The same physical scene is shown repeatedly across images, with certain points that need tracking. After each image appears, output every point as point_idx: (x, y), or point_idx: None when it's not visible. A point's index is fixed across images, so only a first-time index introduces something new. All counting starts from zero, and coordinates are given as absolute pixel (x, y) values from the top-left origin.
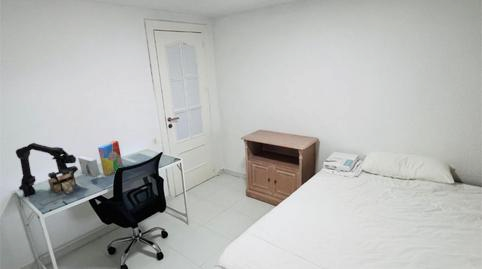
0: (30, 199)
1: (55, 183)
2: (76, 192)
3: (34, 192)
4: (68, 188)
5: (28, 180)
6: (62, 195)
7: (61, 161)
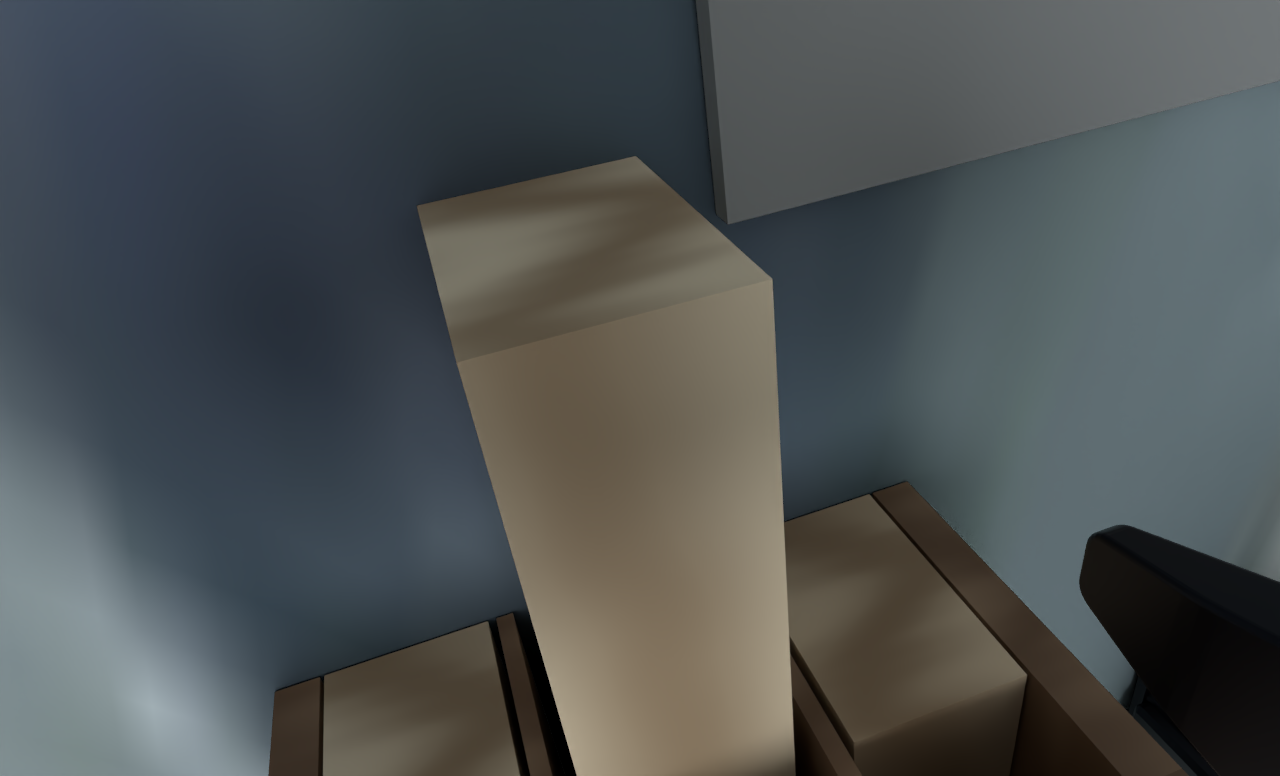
0: None
1: None
2: None
3: (1145, 697)
4: (592, 255)
5: None
6: (828, 4)
7: None
